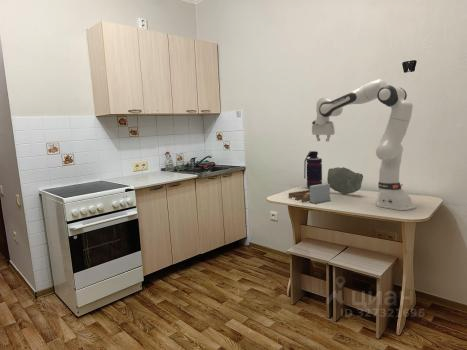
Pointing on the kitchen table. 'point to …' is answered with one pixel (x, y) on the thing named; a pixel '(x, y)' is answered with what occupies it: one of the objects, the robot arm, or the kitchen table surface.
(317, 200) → the blue-gray rectangular block
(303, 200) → the rack
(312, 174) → the grenade
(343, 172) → the rock
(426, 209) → the kitchen table surface
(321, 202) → the mat
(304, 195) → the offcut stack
